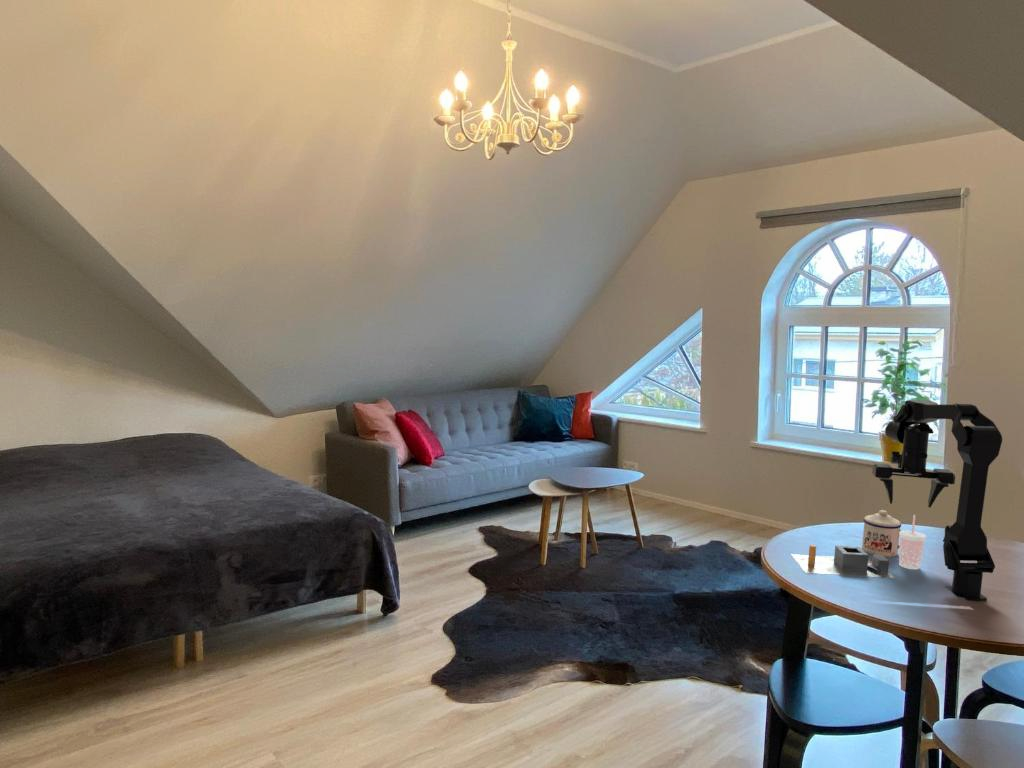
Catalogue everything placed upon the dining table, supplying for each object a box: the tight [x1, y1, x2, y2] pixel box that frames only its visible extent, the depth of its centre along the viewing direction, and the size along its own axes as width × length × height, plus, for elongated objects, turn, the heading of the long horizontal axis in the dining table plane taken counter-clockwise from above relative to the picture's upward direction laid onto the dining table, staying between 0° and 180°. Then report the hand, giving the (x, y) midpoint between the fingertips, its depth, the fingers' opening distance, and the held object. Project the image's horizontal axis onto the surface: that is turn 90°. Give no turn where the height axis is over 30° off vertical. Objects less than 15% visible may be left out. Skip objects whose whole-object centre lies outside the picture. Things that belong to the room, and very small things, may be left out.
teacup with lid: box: [861, 509, 904, 557], centre depth 200 cm, size 12×9×12 cm
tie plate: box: [790, 553, 895, 579], centre depth 189 cm, size 13×21×4 cm, turn 85°
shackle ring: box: [833, 545, 869, 573], centre depth 187 cm, size 6×6×4 cm
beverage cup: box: [898, 514, 927, 570], centre depth 190 cm, size 6×6×14 cm
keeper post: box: [808, 544, 817, 566], centre depth 188 cm, size 2×2×5 cm
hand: (909, 505), depth 198 cm, fingers open, 9 cm apart
